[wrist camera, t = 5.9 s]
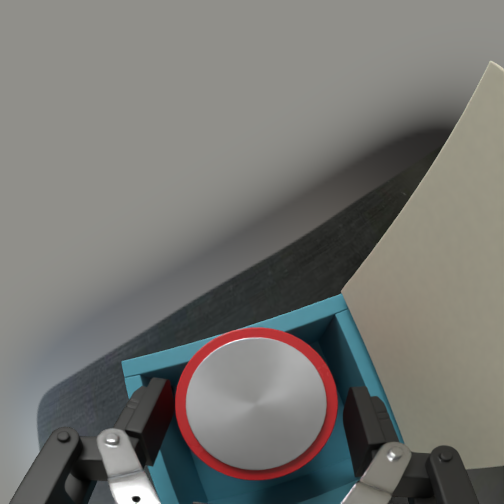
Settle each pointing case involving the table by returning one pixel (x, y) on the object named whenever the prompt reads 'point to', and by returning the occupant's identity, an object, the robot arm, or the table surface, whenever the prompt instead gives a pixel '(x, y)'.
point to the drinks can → (256, 403)
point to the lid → (445, 293)
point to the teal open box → (302, 480)
